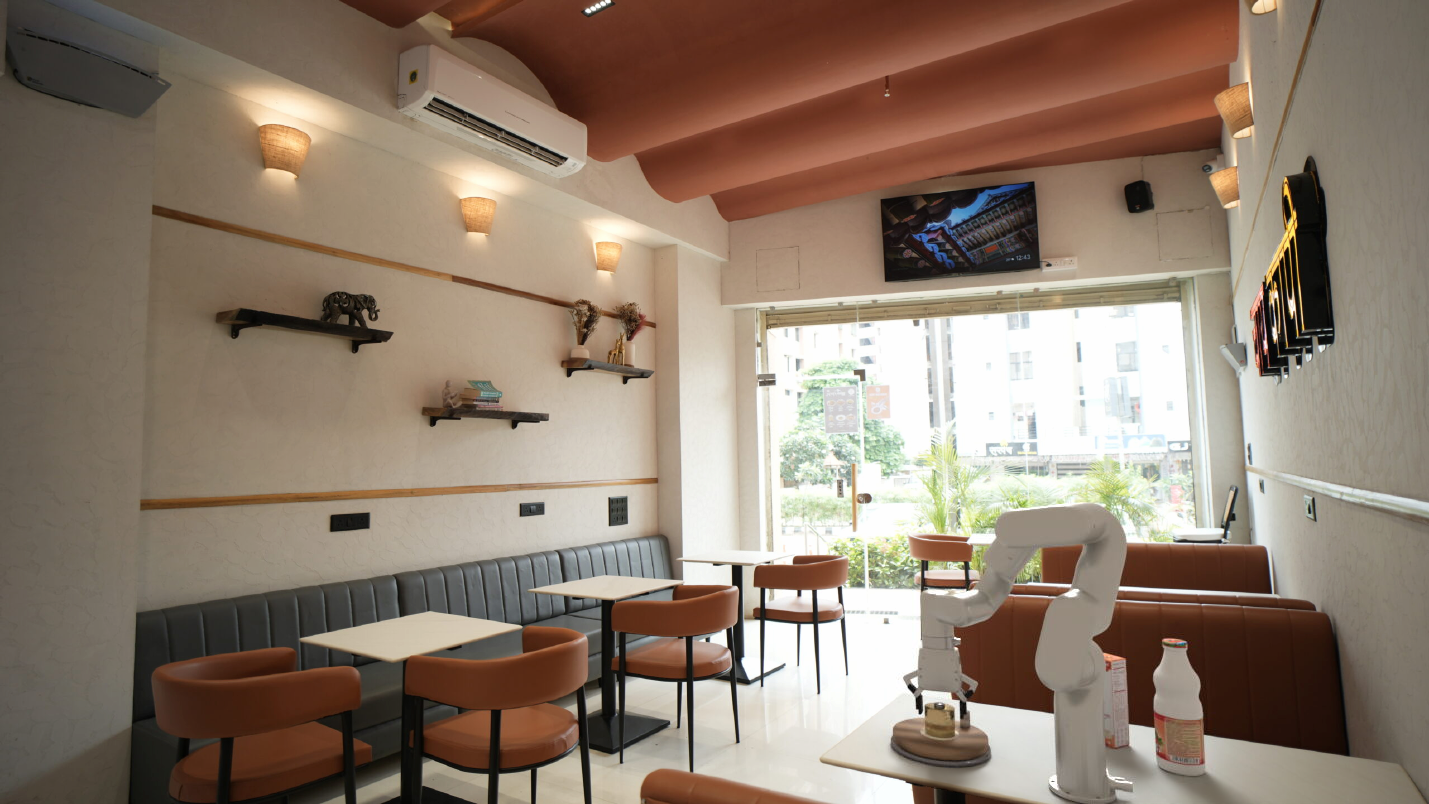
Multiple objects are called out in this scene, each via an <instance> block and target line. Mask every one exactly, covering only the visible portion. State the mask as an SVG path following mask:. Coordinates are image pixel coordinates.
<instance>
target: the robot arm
mask: <svg viewBox="0 0 1429 804" xmlns="http://www.w3.org/2000/svg"><path fill="white" fill-rule="evenodd" d="M994 535H995V539H994V540H993V541H992V542H991V544H990V545H989V546H988V547H987V549H986V550H985V551H984V552H983V556H982V560H983V562H984V564H985V565H986V569H985V570H984V573H983V575H982V576H981V577H980V578H979V580H978V581H977V582H976V584H975V585H974V586H973V588H971V589H970V590H967V591H963V592H959V593H954V594H951V592H949V591H947V590H944V589H925V590H923V591H921V593H920V596H919V597H920V598H919V600H920V601H919V603H920V623H921V626H920V627H921V628H920V629H921V645H920V646H919V650H918V659H917V669H916V670H914V671H911V672H909V673H907V674H905V675H903V678H902V680H903V682H904V683H905V686H906V688H907V689H908V690H909V691H910V692H911V693H912V695H913V697H915V700H914V701H915V710H917V711H918V715H922V714H923V713H924V699H923V694H922V693H923V692H924V691H930V692H939V693H948V694H949V693H950V694H951V693H952V694H956V696H957V697H958V698H959V703H958V704H959V719H960V718H961V719H964V715H967V710H968V708H967V706H968V703H967V702H968V700H969V699H970V698H971V697H972V696H973V695H974V693H975V691H976V690H977V687H978V685H979V683H978V681H976V680H974V679H972V678H971V677H969V676H968V675H966V674H964V673H963V672H962V663H961V656H960V652H959V648H958V647H956V646H958V645H961V643H962V642H961V638H958V637H956V636H955V632H954V631H955V629H954V628H956V627H957V628H966V627H969V626H972V625H975V624H979V623H980V622H981V623H982V622H984V621H985V622H986V621H987V620H989V619H990V618H991V617H992V616H993V615H994V614H995V613H996V612H997V611H998V610H999V608H1000V607H1001V606H1002V605H1003V604H1004V602H1005V601H1006V600H1007V599H1008V597H1009V595H1010V594H1011V592H1012V590H1013V587H1014V585H1015V583H1016V580H1017V578H1018V576H1019V575H1020V573H1021V572H1022V571H1023V569H1024V568H1026V566H1027V564H1028V563H1029V562H1030V561H1031V560H1032V558H1033V557H1034V556H1035V555H1036V553H1037V552H1038V551H1039V550H1040V549H1047V548H1056V547H1057V548H1058V547H1071V546H1077V545H1082V550H1081V553H1080V556H1079V557H1078V560H1077V562H1076V565H1075V569H1074V576H1073V579H1072V583H1071V586H1070V587H1069V590H1068V591H1067V592H1065V593H1062V594H1059V595H1057V596H1056V597H1055V598H1054V599H1052V601H1051V602H1050V604H1049V605H1048V608H1047V609H1046V611H1045V614H1044V615H1045V616H1044V618H1043V622H1042V625H1041V626H1042V627H1041V631H1040V635H1039V640H1038V643H1037V648H1036V652H1035V660H1034V667H1035V671H1036V674H1037V677H1038V678H1039V680H1040V682H1041V683H1042V684H1043V685H1044V687H1047V688H1048V689H1050V690H1051V691H1054V692H1053V693H1054V694H1053V716H1054V718H1053V719H1054V720H1053V721H1054V745H1055V746H1054V747H1055V775H1052V776H1050V777H1049V778H1048V787H1049V789H1050V790H1051V792H1053V794H1055V795H1056V796H1059V797H1061V798H1063V799H1065V800H1068V801H1072V802H1075V803H1079V804H1110V803H1113V802H1114V801H1115V800H1116V799H1117V798H1116V797H1117V791H1122V792H1126V793H1132V794H1133V792H1134V788H1133V787H1134V785H1133V781H1126V780H1125V778H1124V777H1119V776H1112V774H1109V771H1108V770H1109V769H1108V768H1107V753H1106V752H1107V751H1106V747H1107V746H1106V745H1105V723H1104V687H1105V677H1106V662H1105V657H1104V654H1103V653H1104V652H1103V650H1102V648H1101V647H1100V646H1099V644H1098V643H1096V642H1095V641H1094V640H1093V638H1094V637H1096V636H1098V635H1100V634H1102V633H1103V632H1105V631H1106V630H1108V628H1109V626H1110V625H1111V623H1112V619H1113V615H1114V609H1115V605H1116V601H1117V597H1118V593H1119V589H1120V586H1121V585H1120V584H1121V579H1122V574H1123V572H1124V567H1125V562H1126V557H1127V552H1128V551H1127V550H1128V548H1127V547H1128V546H1127V545H1128V543H1127V536H1126V533H1125V530H1124V527H1123V525H1122V524H1121V522H1120V521H1119V519H1118V518H1117V517H1116V516H1115V515H1114V514H1113V513H1112V512H1111V511H1110V510H1109V509H1107V508H1106V507H1105V506H1102V505H1101V504H1098V503H1095V502H1089V501H1082V502H1081V501H1080V502H1071V503H1062V504H1055V505H1047V506H1039V507H1038V506H1037V507H1022V508H1012V509H1008V510H1005V511H1004V512H1002V513H1001V514H1000V515H999V516H998V518H997V519H996V521H995V524H994ZM915 678H917V687H916V685H915V684H913V682H912V680H913V679H915ZM963 682H964V683H966V684H967V685H969V688H968V690H967V691H966V692H965V690H964V689H963V688H962V687H963Z"/></svg>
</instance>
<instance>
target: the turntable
mask: <svg viewBox="0 0 1429 804" xmlns="http://www.w3.org/2000/svg"><path fill="white" fill-rule="evenodd" d="M892 735H893V741H894V742H895V744H896V745H897V746H899V747H900V748H902V749H903V750H905V751H908V752H910V753H913V754H916V755H919V756H923V757H927V758H933V759H940V760H967V759H973V758H977V757H980V756H982V755H984V754H985V753H987V751H988V748H989V746H990V745H988V744H989V737H988V735H987V733H985V731H983V730H982V729H981V728H978V727H977V726H974V725H972V724H971V711H970V710H969V709H967V715H964V719H961V718H960V717H959V720H955V736H954V737H952V738H936V737H932V736H929V735H927V734H926V733H925V717H914V718H908V719H904V720H901V721H899V722H897V723H896V724H894V726H893V727H892Z"/></svg>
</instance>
